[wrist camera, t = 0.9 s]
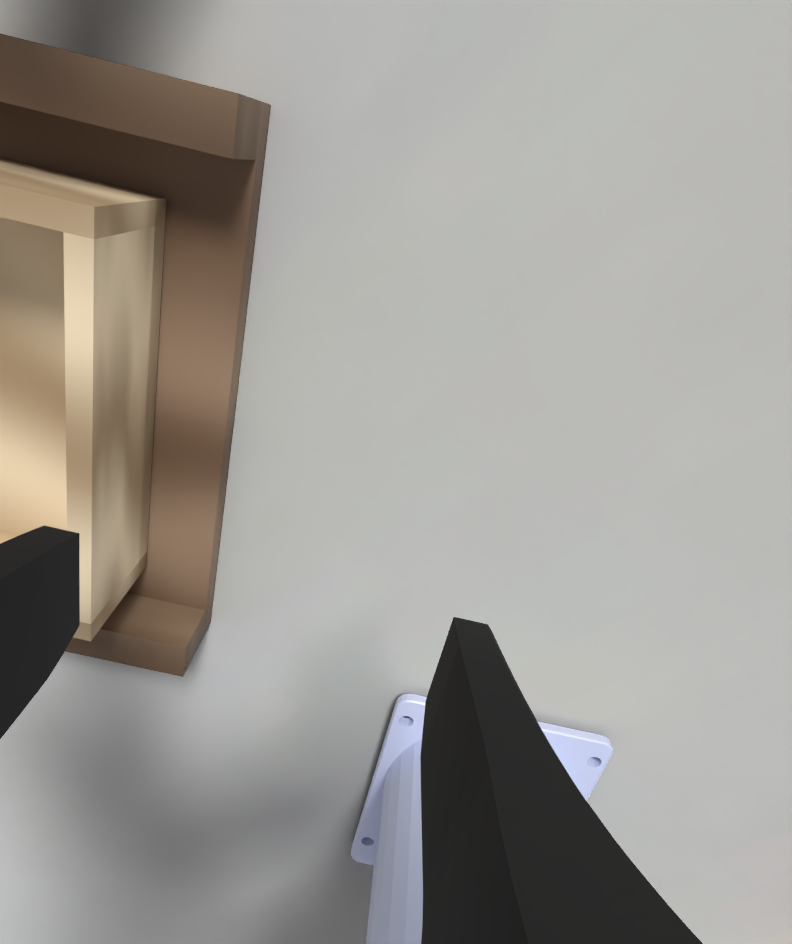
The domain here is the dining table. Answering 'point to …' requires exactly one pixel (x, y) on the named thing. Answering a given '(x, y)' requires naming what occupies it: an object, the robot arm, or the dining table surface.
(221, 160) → the bay
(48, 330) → the light wooden drawer
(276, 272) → the dining table surface
